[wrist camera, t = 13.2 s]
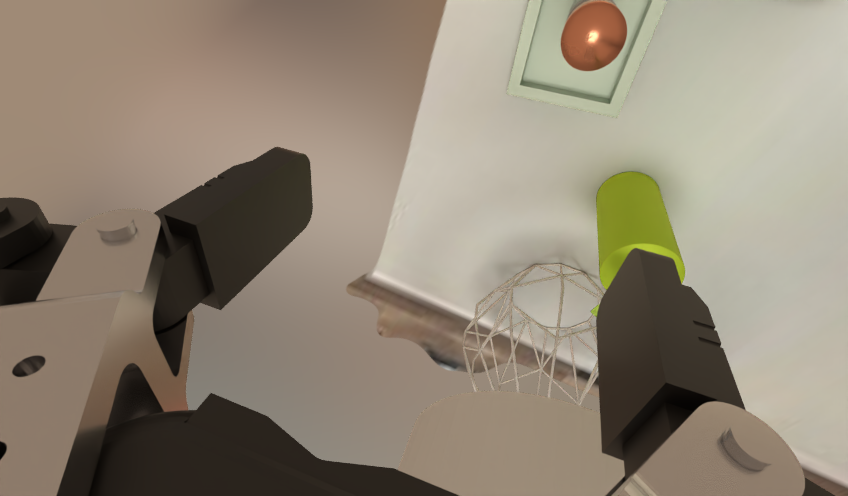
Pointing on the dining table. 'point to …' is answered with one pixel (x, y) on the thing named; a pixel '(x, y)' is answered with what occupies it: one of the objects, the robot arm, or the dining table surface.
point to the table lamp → (514, 428)
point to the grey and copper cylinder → (593, 34)
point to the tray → (566, 86)
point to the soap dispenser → (632, 224)
